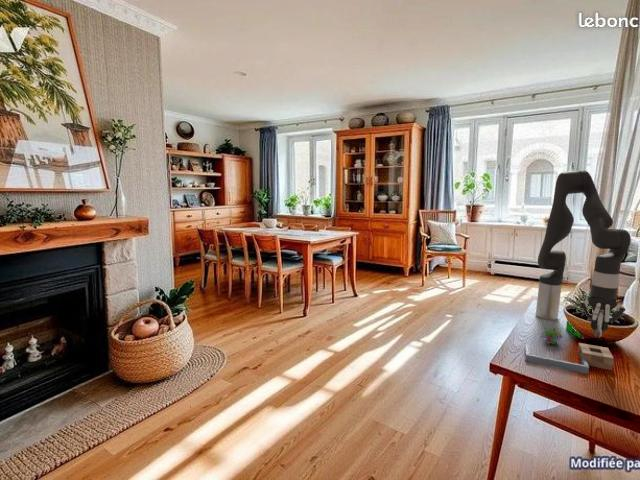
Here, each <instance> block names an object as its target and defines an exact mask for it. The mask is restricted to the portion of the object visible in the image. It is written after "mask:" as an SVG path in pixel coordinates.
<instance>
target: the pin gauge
mask: <svg viewBox="0 0 640 480" xmlns="http://www.w3.org/2000/svg"><path fill="white" fill-rule="evenodd" d="M599 311H600V312H599V313H598V315H597V318H596V320H597V323H596V330H594V336H595V337H599V338H600V337H601V336H602V328H603V321H604V314H605V310H601V309H599Z"/></svg>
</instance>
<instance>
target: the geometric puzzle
mask: <svg viewBox="0 0 640 480" xmlns="http://www.w3.org/2000/svg"><path fill="white" fill-rule="evenodd" d="M552 329H553V330H552ZM552 329H548V328H545V329H544V332H542V334H541V335H540V338H541V339H542V340H543V341H546V345H547V347H549V346H551V347H552V346H558V344H559V343H560V342H561V341H562V339H563V335H562V333H561V332H560V331H559V330H558V329H557V328H555V327H554V328H552Z"/></svg>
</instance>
